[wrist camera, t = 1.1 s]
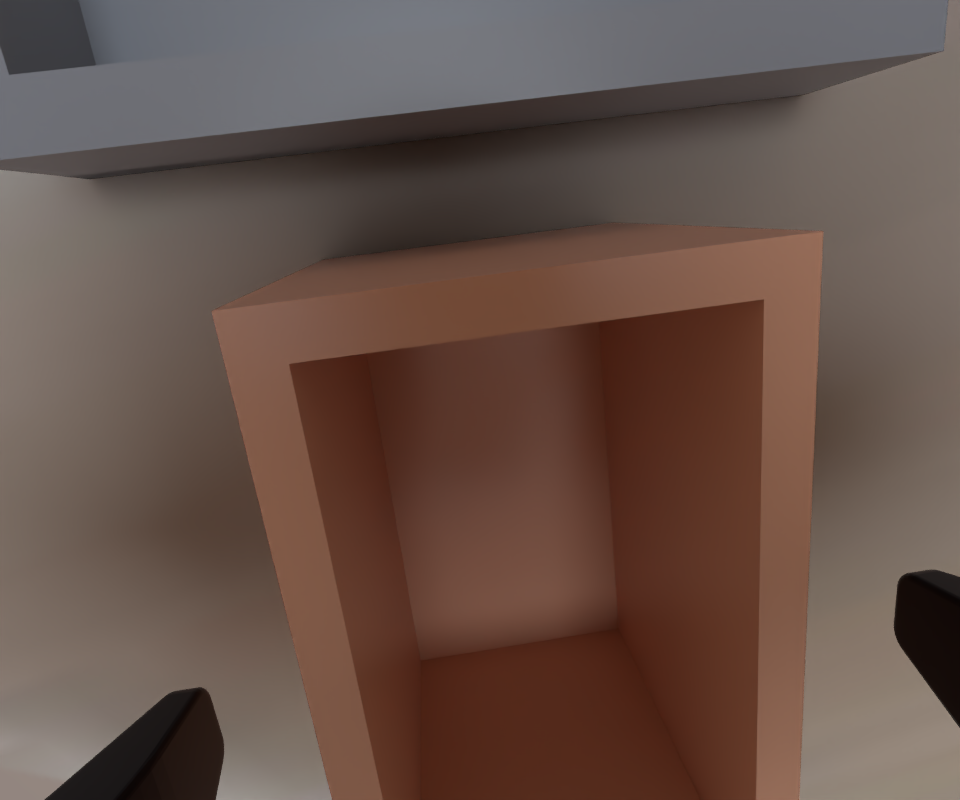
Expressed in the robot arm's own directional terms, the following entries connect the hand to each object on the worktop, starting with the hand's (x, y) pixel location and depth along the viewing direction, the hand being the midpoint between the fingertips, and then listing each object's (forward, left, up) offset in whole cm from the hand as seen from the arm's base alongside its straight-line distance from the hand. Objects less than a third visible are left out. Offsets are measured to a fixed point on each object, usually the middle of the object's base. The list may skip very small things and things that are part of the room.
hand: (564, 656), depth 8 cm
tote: (0, 0, -6) cm, 7 cm away
